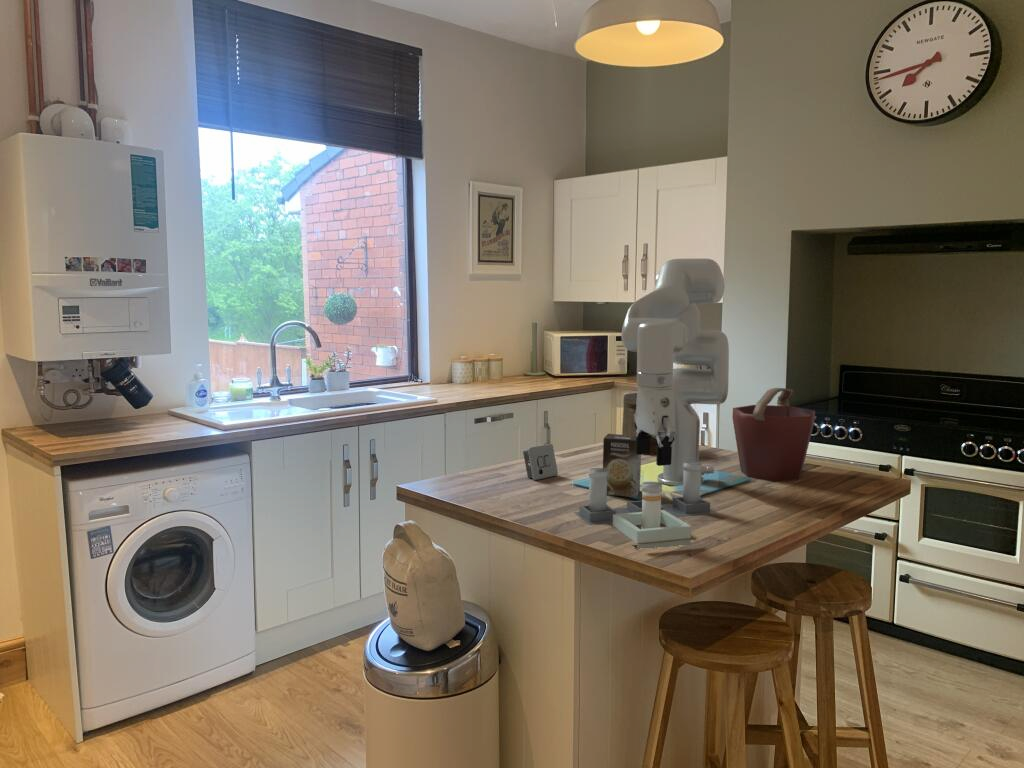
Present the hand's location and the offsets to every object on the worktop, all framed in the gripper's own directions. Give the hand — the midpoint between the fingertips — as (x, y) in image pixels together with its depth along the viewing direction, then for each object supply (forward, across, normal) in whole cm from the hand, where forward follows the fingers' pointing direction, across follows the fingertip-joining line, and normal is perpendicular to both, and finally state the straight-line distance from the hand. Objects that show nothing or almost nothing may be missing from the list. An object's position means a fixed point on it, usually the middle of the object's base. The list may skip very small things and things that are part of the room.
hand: (653, 459), depth 166 cm
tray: (+17, -1, +1) cm, 17 cm away
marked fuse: (+16, -1, +1) cm, 16 cm away
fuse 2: (+16, +12, -16) cm, 26 cm away
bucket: (+20, +41, -59) cm, 75 cm away
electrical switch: (+19, +57, +7) cm, 60 cm away
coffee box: (+18, +30, -6) cm, 36 cm away
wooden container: (+20, +82, -38) cm, 93 cm away
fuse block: (+18, +12, -4) cm, 22 cm away
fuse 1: (+16, +12, +8) cm, 21 cm away
